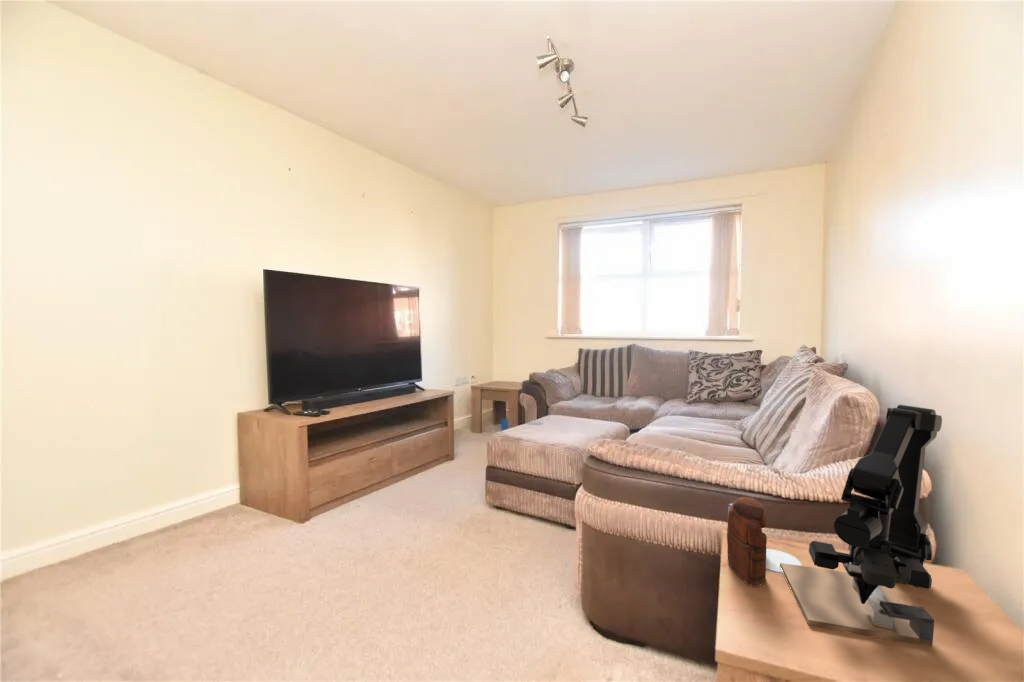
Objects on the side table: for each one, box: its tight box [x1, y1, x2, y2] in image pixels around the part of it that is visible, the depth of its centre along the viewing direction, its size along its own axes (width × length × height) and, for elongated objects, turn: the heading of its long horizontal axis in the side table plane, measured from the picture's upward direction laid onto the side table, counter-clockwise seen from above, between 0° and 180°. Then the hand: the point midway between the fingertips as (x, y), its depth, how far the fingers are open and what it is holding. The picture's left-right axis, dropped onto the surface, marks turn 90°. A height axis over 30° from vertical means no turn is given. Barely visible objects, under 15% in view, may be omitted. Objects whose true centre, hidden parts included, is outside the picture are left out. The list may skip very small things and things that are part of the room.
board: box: [779, 562, 934, 648], centre depth 96 cm, size 20×20×5 cm
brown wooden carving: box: [726, 496, 768, 587], centre depth 106 cm, size 12×6×18 cm, turn 4°
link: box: [852, 578, 894, 630], centre depth 94 cm, size 15×5×3 cm, turn 154°
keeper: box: [880, 601, 935, 647], centre depth 86 cm, size 7×4×5 cm, turn 73°
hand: (862, 602), depth 92 cm, fingers closed
